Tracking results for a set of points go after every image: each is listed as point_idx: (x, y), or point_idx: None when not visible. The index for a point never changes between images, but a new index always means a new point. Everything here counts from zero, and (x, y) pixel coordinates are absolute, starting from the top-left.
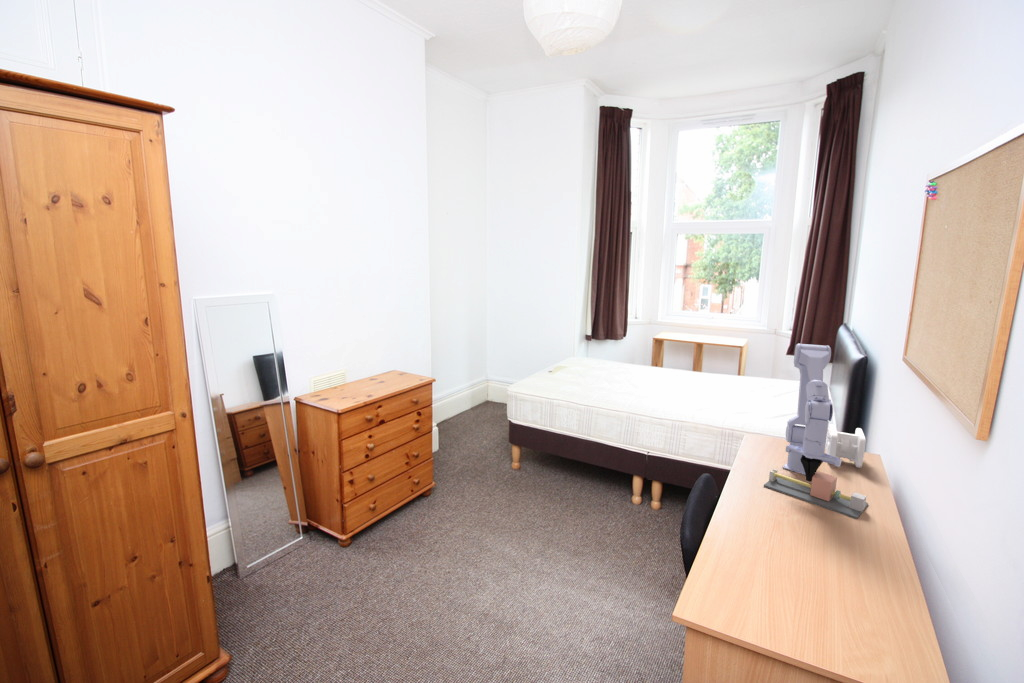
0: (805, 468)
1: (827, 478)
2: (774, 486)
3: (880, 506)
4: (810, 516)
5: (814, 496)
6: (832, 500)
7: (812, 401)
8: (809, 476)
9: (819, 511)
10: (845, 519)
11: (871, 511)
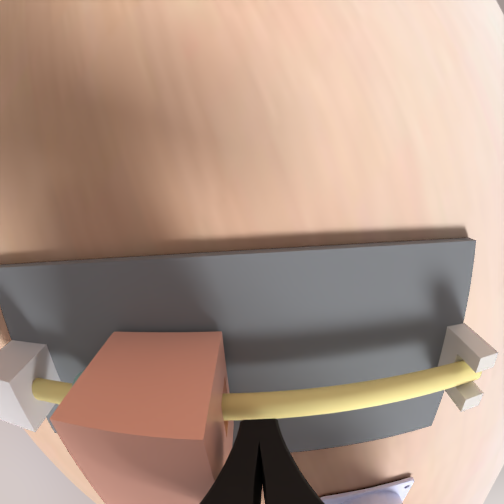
0: (299, 500)
1: (114, 470)
2: (431, 272)
3: (42, 436)
4: (122, 65)
5: (193, 332)
6: None
7: None
8: (250, 448)
9: (108, 179)
10: (13, 213)
11: None
